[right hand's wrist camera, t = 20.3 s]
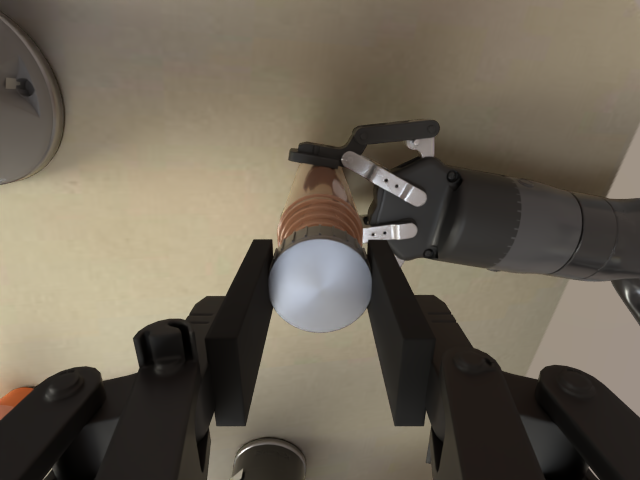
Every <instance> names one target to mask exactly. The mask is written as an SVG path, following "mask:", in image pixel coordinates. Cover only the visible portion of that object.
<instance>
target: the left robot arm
mask: <svg viewBox="0 0 640 480" xmlns="http://www.w3.org/2000/svg"><path fill="white" fill-rule="evenodd" d="M439 130H440V126H439V124H438V122H437V121H435V120H429V119H417V120H408V121H398V122H389V123H379V124H370V125H361V126H357V127H355V128H354V129H353V131H352V135H351V137H350V138H349V140H348V142H347V143H346V144H345V145H344V146H342V147H334V146H328V145H323V144H317V143H312V142H302V143H300V144H299V147H298V149H295V148H291V149H290V152H289V159H288V160H290V161H294V162H299V163H305V164H310V165H316V166H322V167H328V168H333V169H338V166H341V167H346V168H348V169H350V170H352V171H354V172H355V173H357V174H359V175H361V176H363V177H365V178H366V179H368V180H369V181H371V182H372V183H374V189H373V195H374V199H373V201H372V203H371V205H370V207H369V210H368V214H367V215H359V217H360V220H361V223H362V227H363V243H368V239H387V241H388V243H389V245H390V247H391V249H392V251H393V253H394V255H395V257H396V259H397V261H398V263H399V265H400V267H401V266H402V264H403V263H404V261H408V260H412V259H416V258H428V259H432V260H437V261H443V262H449V263H455V264H462V265H468V266H474V267H480V268H486V269H487V270H491V271H496V272H497V271H505V272H511V273H531V274H543V275H548V276H555V277H561V278H567V279H573V280H581V281H611V282H612V284H613V286H614V288H615V290H616V291H617V293H618V294H619V296H620V297H621V299H622V300H623V302H624V303H625V305H626V306H627V308H628V309H629V311H630V312H631V313H632V315H633V316H634V318H635V319H636V321H637V322H638V324H639V325H640V198H635V199H608V198H605V197H600V196H595V195H590V194H584V193H579V192H573V191H568V190H563V189H558V188H555V187H552V186H549V185H546V184H543V183H540V182H536V181H531V180H526V179H522V178H514V177H508V176H503V175H498V174H492V173H487V172H481V171H476V170H470V169H465V168H459V167H453V166H448V165H445V164H443V163H442V162H441V161H440V160H439V159H438V158H436V157H434V150H435V136H436V135H437V134H438V133H439ZM397 141H404V144H405V146H406V147H408V148H410V149H412V150H417V151H418V153H419V156H418V157H416V158H414V159H412V160H410V161H408V162H406V163H403V164H401V165H399V166H397V167H395V168H393V169H391V170H390V169H388V168H386V167H384V166H382V165H381V164H379V163H377V162H375V161H373V160H371V159H369V158H367V157H365V156H364V155H362V153H363V151H364V149H365V148H366V146H367V145H368V144H378V143H387V142H397ZM282 213H283V212H282ZM281 215H282V214H281ZM367 222H368V223H367ZM372 233H373V234H372ZM366 255H367V254H366ZM305 473H306V461H305V458H304V456H303V454H302V453H301V451H300V450H299V449H298V448H297V447H295V446H294V445H292V444H290V443H288V442H286V441H283V440H279V439H272V438H266V439H258V440H255V441H252V442H249V443H247V444H246V445H244V446H243V447H242V448H241V449H240V450H239V451H238V453H237V455H236V457H235V461H234V466H233V473H232V477H231V479H230V480H305Z"/></svg>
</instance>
